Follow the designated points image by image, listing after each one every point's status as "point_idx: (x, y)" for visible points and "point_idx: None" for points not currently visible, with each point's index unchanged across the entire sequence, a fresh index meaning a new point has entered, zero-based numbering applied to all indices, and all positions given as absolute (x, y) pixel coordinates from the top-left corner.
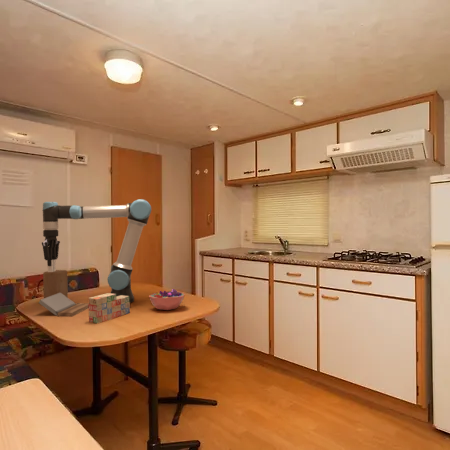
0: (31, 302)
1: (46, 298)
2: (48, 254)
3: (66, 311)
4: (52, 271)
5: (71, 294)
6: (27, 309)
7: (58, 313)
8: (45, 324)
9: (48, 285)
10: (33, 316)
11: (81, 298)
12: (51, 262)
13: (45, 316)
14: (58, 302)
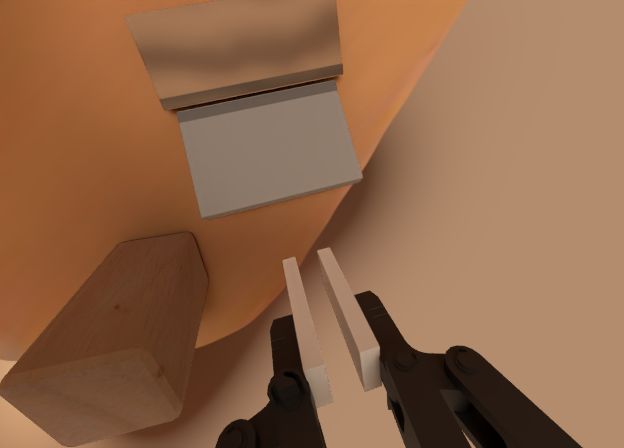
0: (203, 336)
1: (325, 181)
2: (547, 437)
3: (319, 40)
4: (328, 249)
5: (11, 330)
6: (279, 273)
7: (341, 70)
8: (435, 37)
9: (188, 323)
10: None
11: (29, 231)
12: (366, 325)
13: None
14: (278, 143)
